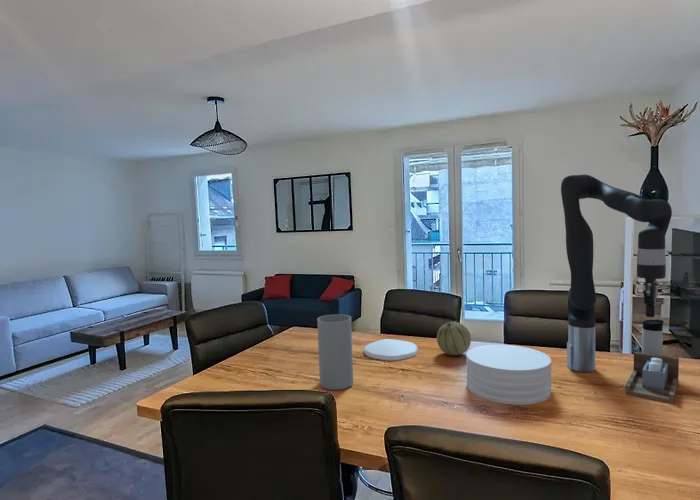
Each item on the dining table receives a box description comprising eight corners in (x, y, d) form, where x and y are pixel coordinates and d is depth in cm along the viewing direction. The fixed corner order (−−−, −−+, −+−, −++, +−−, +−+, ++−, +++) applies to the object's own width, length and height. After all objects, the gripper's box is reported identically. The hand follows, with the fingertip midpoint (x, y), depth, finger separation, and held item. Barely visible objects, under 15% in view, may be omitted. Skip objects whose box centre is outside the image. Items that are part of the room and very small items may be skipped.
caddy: (664, 391, 141) (664, 367, 140) (642, 386, 145) (642, 364, 144) (667, 380, 150) (668, 358, 149) (647, 376, 154) (647, 355, 153)
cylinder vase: (357, 379, 163) (355, 315, 161) (346, 392, 151) (344, 323, 149) (327, 376, 167) (325, 313, 165) (314, 389, 155) (311, 321, 153)
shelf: (673, 403, 134) (674, 375, 133) (625, 393, 142) (625, 366, 142) (678, 383, 149) (678, 358, 148) (634, 376, 158) (634, 351, 157)
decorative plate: (401, 355, 179) (353, 346, 194) (402, 364, 179) (353, 355, 194) (427, 340, 199) (382, 333, 214) (427, 349, 200) (382, 341, 214)
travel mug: (666, 375, 157) (667, 322, 155) (646, 375, 158) (647, 322, 157) (657, 369, 163) (658, 318, 161) (638, 369, 164) (639, 318, 163)
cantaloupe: (475, 352, 191) (474, 319, 190) (465, 362, 179) (464, 326, 178) (443, 347, 199) (443, 316, 198) (431, 356, 187) (431, 323, 186)
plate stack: (511, 412, 132) (511, 376, 131) (450, 383, 157) (449, 352, 156) (569, 392, 145) (569, 360, 144) (504, 368, 170) (504, 340, 169)
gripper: (663, 265, 128) (662, 322, 129) (667, 261, 138) (666, 314, 139) (633, 264, 133) (633, 319, 134) (639, 260, 143) (639, 311, 144)
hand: (650, 316), depth 136 cm, fingers closed
